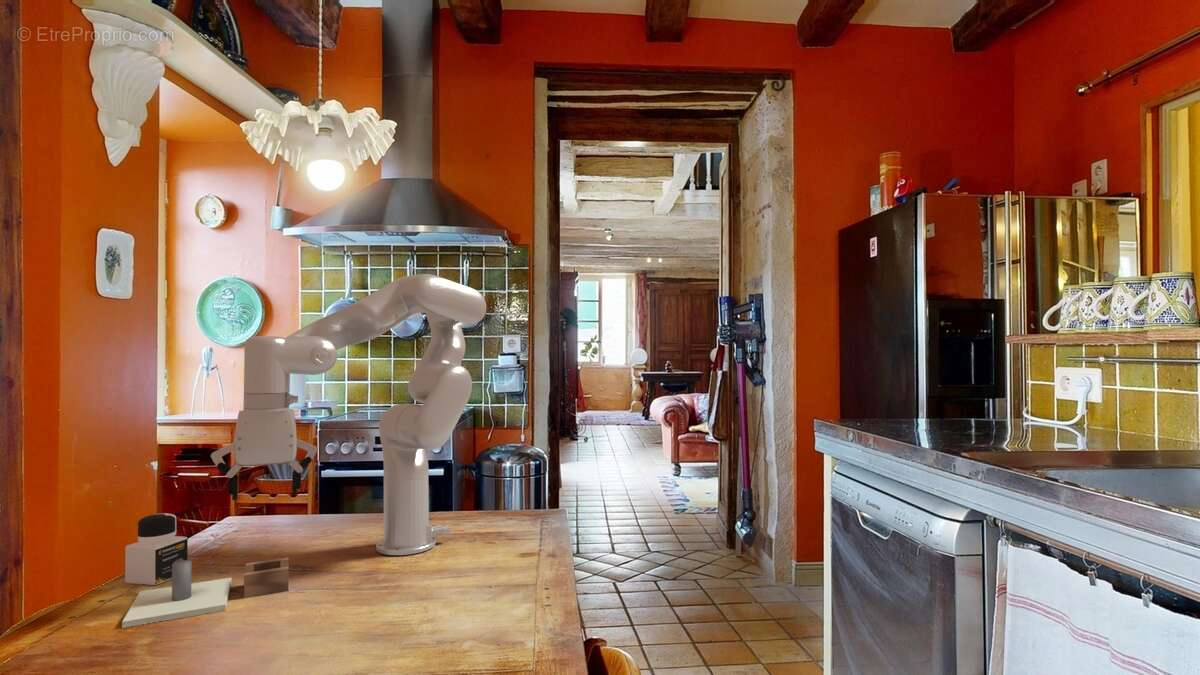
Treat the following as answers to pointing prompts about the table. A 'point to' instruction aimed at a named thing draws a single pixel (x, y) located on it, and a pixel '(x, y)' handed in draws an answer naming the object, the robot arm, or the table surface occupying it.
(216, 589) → the post stand
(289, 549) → the table surface
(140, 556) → the medicine bottle
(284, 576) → the walnut ring
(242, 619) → the table surface
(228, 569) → the table surface
